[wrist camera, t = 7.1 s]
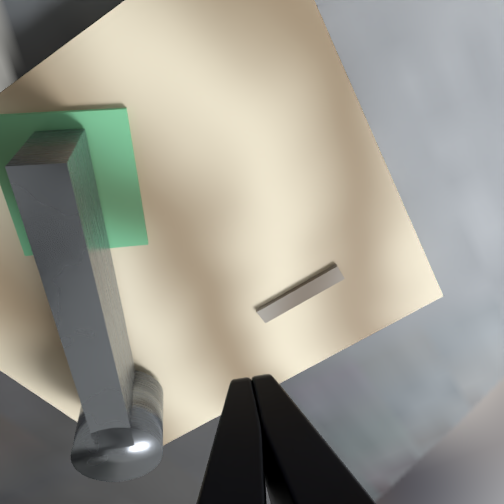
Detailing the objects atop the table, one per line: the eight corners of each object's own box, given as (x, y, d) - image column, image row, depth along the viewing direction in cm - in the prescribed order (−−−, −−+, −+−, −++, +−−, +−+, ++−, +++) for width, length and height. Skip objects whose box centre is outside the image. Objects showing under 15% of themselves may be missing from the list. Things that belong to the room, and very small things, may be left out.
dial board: (135, 443, 24) (134, 463, 23) (-177, 224, 15) (-202, 241, 14) (432, 283, 22) (445, 298, 21) (261, -101, 13) (269, -107, 12)
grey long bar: (167, 416, 22) (167, 474, 19) (91, 426, 21) (81, 487, 19) (119, 126, 14) (108, 160, 12) (-1, 132, 14) (-40, 169, 11)
